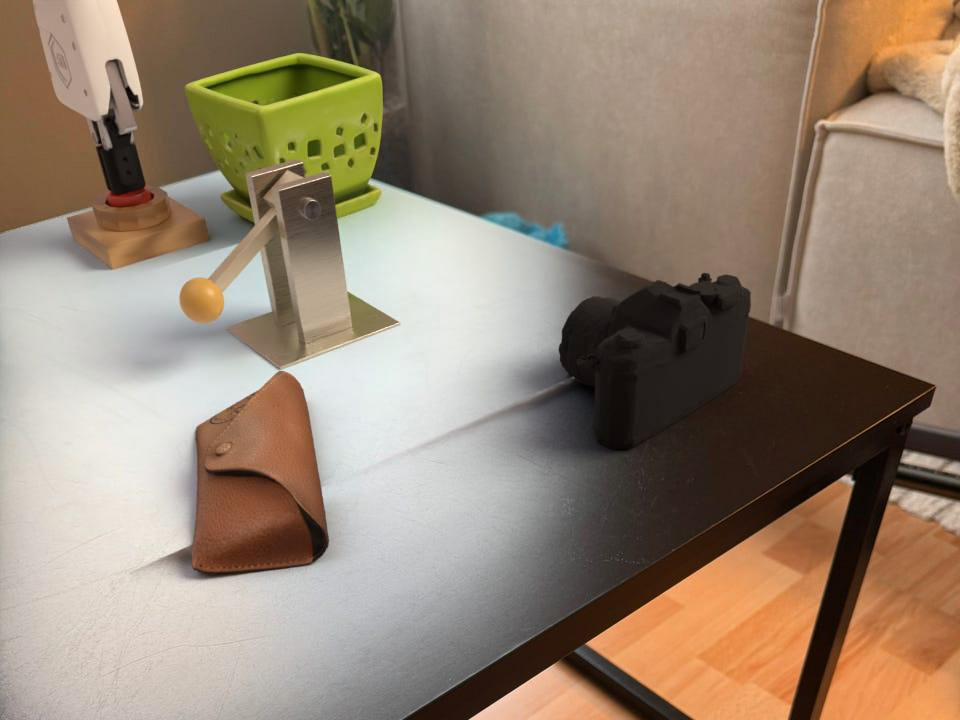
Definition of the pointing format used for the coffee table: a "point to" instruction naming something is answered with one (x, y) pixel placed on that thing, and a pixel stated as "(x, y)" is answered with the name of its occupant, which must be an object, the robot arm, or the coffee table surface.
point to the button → (129, 198)
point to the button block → (137, 229)
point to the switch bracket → (304, 274)
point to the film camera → (656, 353)
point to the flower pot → (293, 124)
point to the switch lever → (230, 266)
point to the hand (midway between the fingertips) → (127, 189)
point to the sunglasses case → (259, 484)
